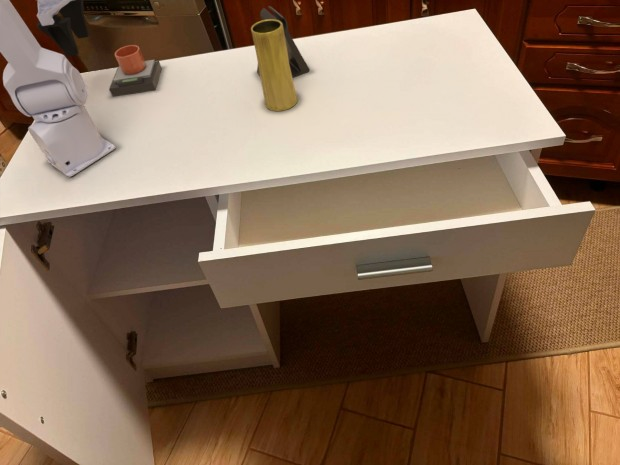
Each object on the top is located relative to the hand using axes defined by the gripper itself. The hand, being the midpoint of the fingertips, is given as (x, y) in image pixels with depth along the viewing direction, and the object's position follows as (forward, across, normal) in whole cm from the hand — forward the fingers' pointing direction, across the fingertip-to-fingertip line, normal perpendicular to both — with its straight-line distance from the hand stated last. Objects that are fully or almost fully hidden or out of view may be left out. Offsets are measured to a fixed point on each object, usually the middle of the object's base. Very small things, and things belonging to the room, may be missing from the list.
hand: (78, 45), depth 93 cm
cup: (+7, +1, -8) cm, 11 cm away
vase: (+10, -16, -38) cm, 42 cm away
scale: (+9, 0, -8) cm, 12 cm away
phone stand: (+10, -5, -39) cm, 40 cm away
